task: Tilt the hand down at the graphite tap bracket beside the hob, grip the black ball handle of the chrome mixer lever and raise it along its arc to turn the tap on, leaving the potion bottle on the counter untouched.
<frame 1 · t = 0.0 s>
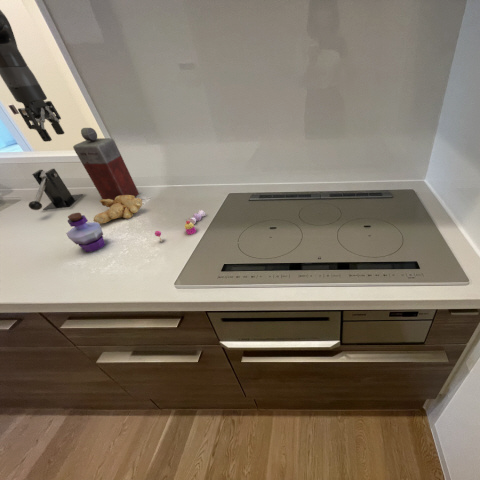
hand: (54, 137, 92), 25 cm above the worktop, tool pointing down, fingers open, 8 cm apart
ginger root: (124, 214, 99), on the worktop
red square bottle: (120, 200, 109), on the worktop
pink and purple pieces: (187, 230, 90), on the worktop
tap bracket: (65, 204, 106), on the worktop
potion bottle: (96, 248, 83), on the worktop
tap lever: (41, 190, 96), point 9 cm above the worktop, hinge at -24.0°
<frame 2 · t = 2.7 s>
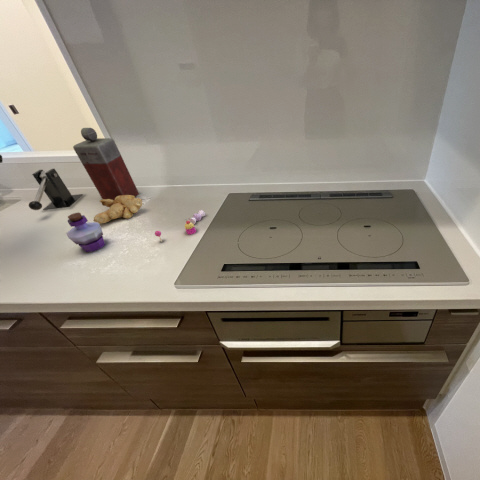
nothing on the worktop moved.
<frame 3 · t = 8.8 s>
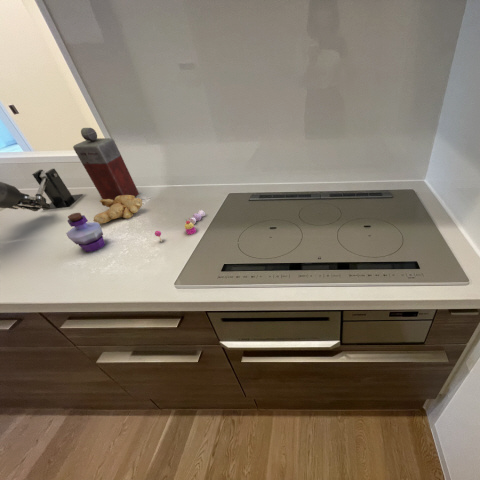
hand: (42, 207, 95), 4 cm above the worktop, tool tilted 45°, fingers closed on tap lever, 3 cm apart
tap lever: (41, 190, 96), point 9 cm above the worktop, hinge at -24.1°, touching gripper
everything else where it was.
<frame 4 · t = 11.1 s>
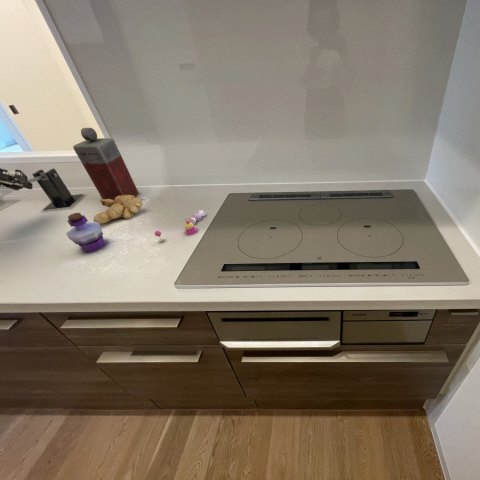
hand: (24, 187, 89), 13 cm above the worktop, tool tilted 45°, fingers closed on tap lever, 3 cm apart
tap lever: (32, 180, 93), point 13 cm above the worktop, hinge at 11.0°, touching gripper
everything else where it was.
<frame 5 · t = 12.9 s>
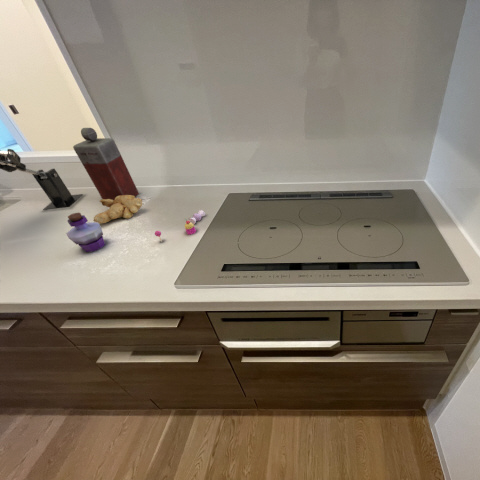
hand: (17, 168, 88), 18 cm above the worktop, tool tilted 45°, fingers closed on tap lever, 3 cm apart
tap lever: (29, 171, 92), point 16 cm above the worktop, hinge at 35.0°, touching gripper
everything else where it was.
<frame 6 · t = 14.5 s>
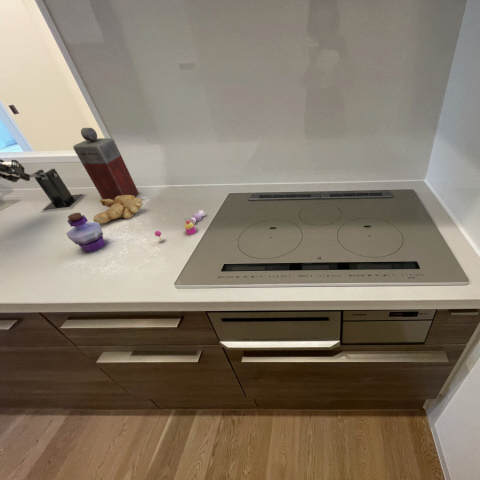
hand: (22, 178, 89), 15 cm above the worktop, tool tilted 45°, fingers closed on tap lever, 3 cm apart
tap lever: (30, 176, 92), point 15 cm above the worktop, hinge at 22.2°, touching gripper
everything else where it was.
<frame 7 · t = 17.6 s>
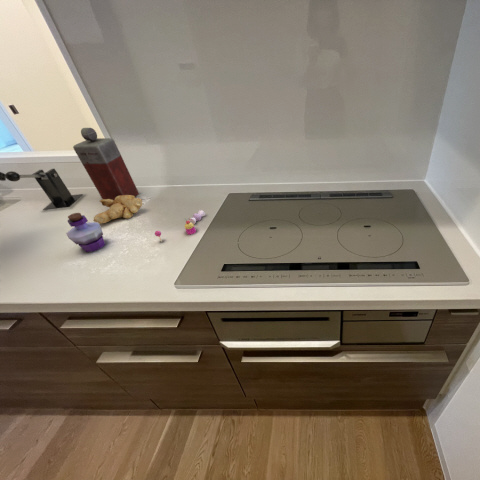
tap lever: (30, 176, 92), point 15 cm above the worktop, hinge at 21.8°
everything else where it was.
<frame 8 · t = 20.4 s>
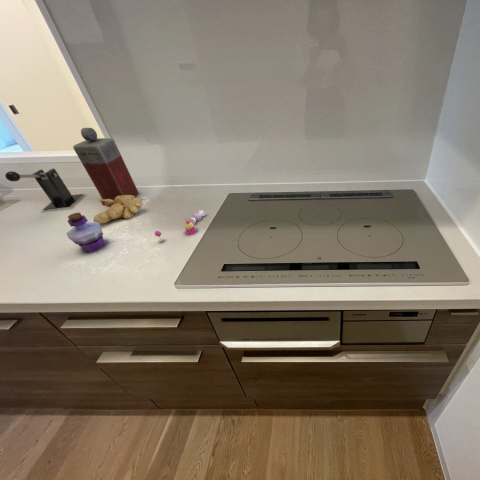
nothing on the worktop moved.
at the end: tap lever at +22° (first picture: -24°); potion bottle moved 0.2 cm from its start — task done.
